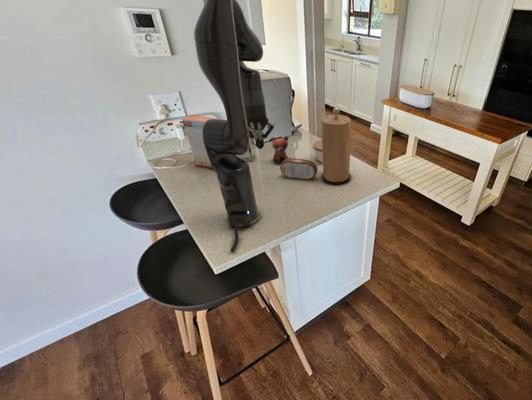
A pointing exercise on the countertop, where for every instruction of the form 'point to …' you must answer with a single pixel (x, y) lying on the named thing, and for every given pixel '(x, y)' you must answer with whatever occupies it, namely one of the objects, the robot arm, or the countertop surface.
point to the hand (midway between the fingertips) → (260, 148)
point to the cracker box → (197, 138)
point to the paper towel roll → (336, 148)
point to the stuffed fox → (279, 148)
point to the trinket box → (318, 150)
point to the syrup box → (248, 154)
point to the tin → (298, 168)
